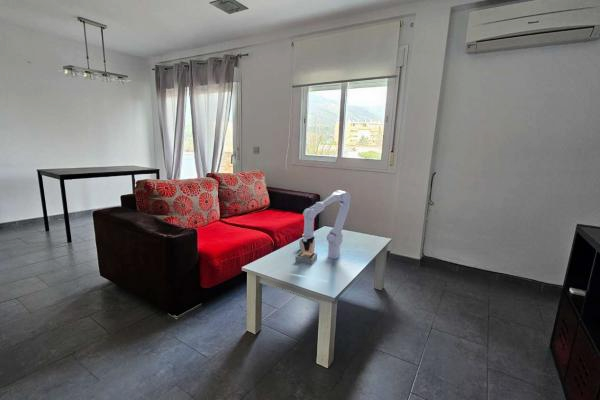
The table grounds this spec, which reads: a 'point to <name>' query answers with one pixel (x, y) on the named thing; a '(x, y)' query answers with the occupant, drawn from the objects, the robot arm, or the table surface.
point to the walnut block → (306, 255)
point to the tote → (305, 259)
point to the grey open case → (302, 244)
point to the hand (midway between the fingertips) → (308, 249)
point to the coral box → (311, 248)
